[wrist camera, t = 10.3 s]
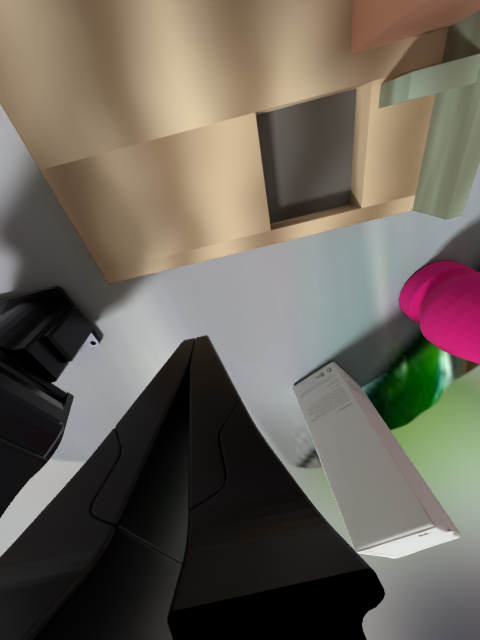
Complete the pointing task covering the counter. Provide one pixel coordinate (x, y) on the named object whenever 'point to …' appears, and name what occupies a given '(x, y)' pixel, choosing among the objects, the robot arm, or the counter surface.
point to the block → (403, 19)
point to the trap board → (234, 122)
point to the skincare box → (369, 470)
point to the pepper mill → (446, 307)
